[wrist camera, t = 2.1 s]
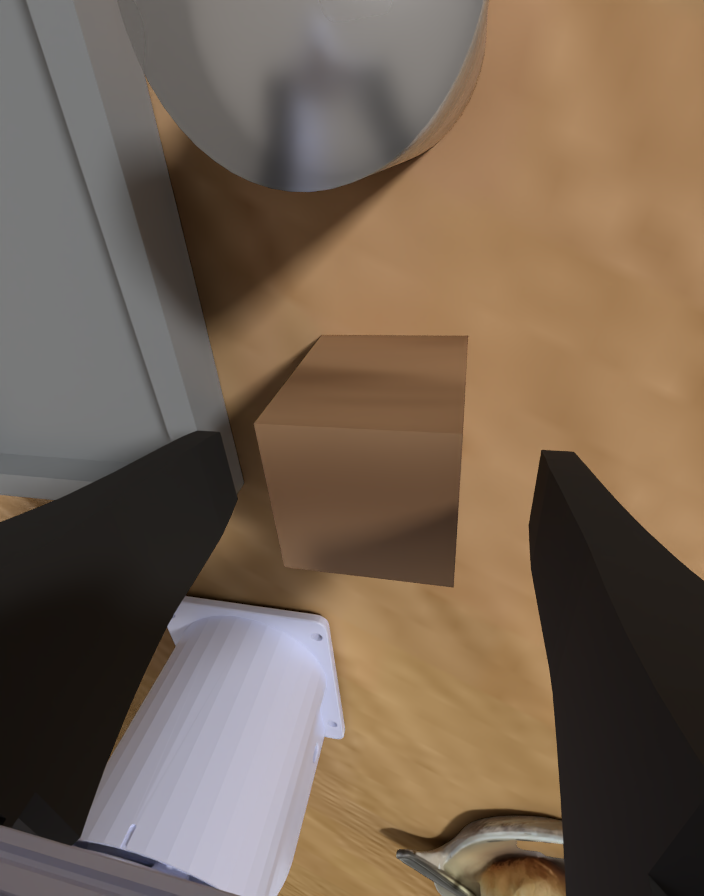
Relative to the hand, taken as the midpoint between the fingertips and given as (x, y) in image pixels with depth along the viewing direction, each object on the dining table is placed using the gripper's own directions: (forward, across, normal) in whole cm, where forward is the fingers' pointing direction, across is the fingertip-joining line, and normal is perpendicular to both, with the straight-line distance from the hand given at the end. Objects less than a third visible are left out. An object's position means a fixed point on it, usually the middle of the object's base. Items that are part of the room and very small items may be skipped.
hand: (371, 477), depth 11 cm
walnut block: (+4, 0, 0) cm, 4 cm away
